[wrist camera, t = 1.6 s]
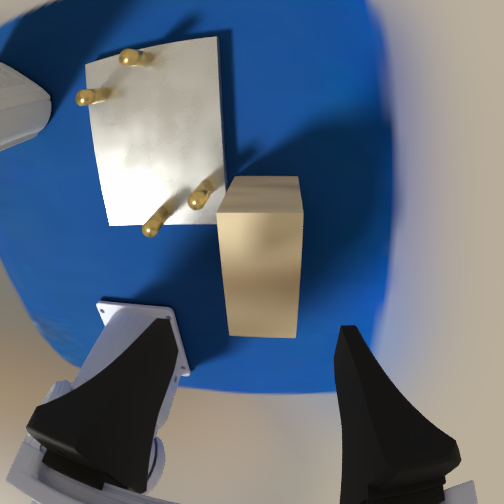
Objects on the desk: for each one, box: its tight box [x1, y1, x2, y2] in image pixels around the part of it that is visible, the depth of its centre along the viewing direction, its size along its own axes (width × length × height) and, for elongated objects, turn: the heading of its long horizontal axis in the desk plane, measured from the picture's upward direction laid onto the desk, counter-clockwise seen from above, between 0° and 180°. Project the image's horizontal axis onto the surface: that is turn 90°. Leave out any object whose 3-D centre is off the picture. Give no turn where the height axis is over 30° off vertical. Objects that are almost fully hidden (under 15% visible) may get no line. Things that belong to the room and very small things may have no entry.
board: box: [216, 176, 304, 338], centre depth 18 cm, size 8×4×6 cm, turn 2°
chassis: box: [76, 36, 228, 238], centre depth 17 cm, size 12×9×3 cm
